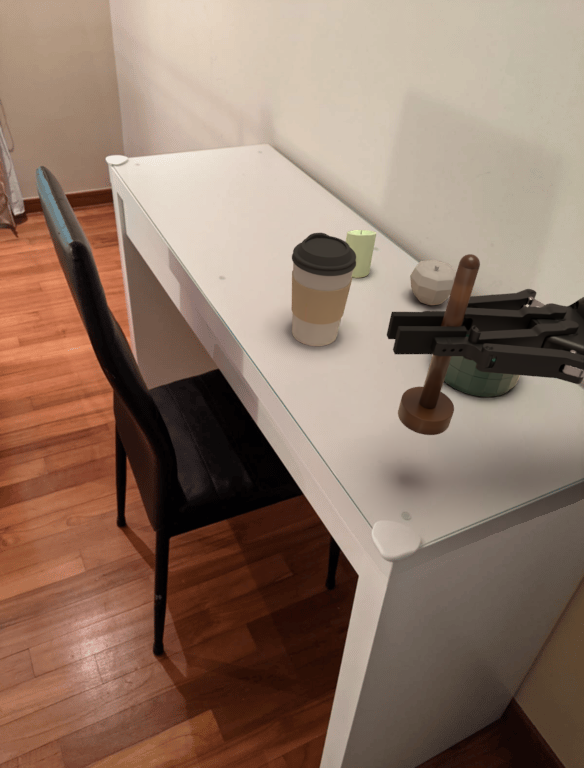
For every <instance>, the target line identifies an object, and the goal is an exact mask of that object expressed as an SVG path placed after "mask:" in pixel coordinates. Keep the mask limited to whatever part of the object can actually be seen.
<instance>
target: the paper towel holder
mask: <svg viewBox="0 0 584 768" xmlns="http://www.w3.org/2000/svg"><path fill="white" fill-rule="evenodd" d="M480 267H481V261H480V259H479V258H478V256H477V255H475V254H473V253H468V254H465V255H463V256H462V257H461V258H460V260H459V262H458V265H457V269H456V276H455V279H454V283H453V286H452V290H451V293H450V295H449V297H448V299H447V300H448V301H447V304H446V307H445V310H444V311H445V314H444V317H443V321H442V324H441V326H453V327H458V326H461V325H462V322H463V318H464V315H465V312H466V309H467V306H468V302H469V299H470V296H471V295H472V293H473V290H474V286H475V283H476V280H477V276H478V273H479V270H480ZM451 357H452V356H436V355H433V354H432V356H431V359H430V364H429V366H428V370H427V373H426V376H425V380H424V383H423V386H413V387H410V388H408V389H406V390H405V391H404V392H403V393H402V395H401V397H400V401H399V406H398V410H397V417H398V420H399V421H400V422H401V424H402V425H403V426H404V427H405V428H407V429H408V430H410V431H412V432H414V433H416V434H420V435H425V436H436V435H440V434H442V433H445V432H446V431H447V430H448V428H449V427H450V424H451V421H452V419H453V416H454V413H455V406H454V403H453V400H451V398H450V397H449V396H448V395H447V394H445V393H444V392H442V388H443V386H444V383H445V382H444V379H445V376H446V373H447V370H448V366H449V363H450V360H451Z"/></svg>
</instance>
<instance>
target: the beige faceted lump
mask: <svg viewBox="0 0 584 768" xmlns="http://www.w3.org/2000/svg"><path fill="white" fill-rule="evenodd" d="M456 272H457V270H456V269H454V267H453V266H452V265H450V264H449V263H447V262H444V261H440V260H437V259H426V260H420V261H419V262H418V263H417V265H416V266H415V267H414V269H412V271H411V273H410V276H409V278H410V279H409V280H410V288H411V291H412V293H413V296H414V297H416V299H417V300H418V301H419V302H420V303H421V304H425V305H426V306H439V305H441V304H443V303H445V302H446V300H449V297H450V293H451V290H452V286H453V283H454V279H455V276H456Z"/></svg>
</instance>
